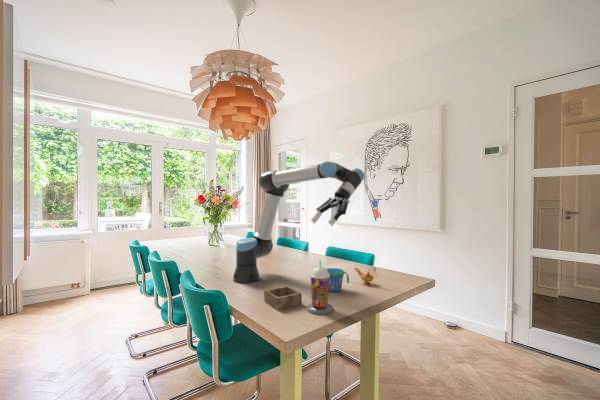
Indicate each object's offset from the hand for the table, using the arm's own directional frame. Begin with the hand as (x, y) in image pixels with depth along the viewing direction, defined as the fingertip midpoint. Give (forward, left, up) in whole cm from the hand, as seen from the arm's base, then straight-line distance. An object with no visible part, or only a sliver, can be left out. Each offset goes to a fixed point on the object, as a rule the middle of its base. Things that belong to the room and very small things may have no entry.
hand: (321, 222), depth 136 cm
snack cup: (+7, +9, -36) cm, 38 cm away
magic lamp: (+25, +22, -36) cm, 49 cm away
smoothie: (0, -16, -35) cm, 39 cm away
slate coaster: (0, -17, -36) cm, 39 cm away
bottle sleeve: (-17, -11, -36) cm, 41 cm away
